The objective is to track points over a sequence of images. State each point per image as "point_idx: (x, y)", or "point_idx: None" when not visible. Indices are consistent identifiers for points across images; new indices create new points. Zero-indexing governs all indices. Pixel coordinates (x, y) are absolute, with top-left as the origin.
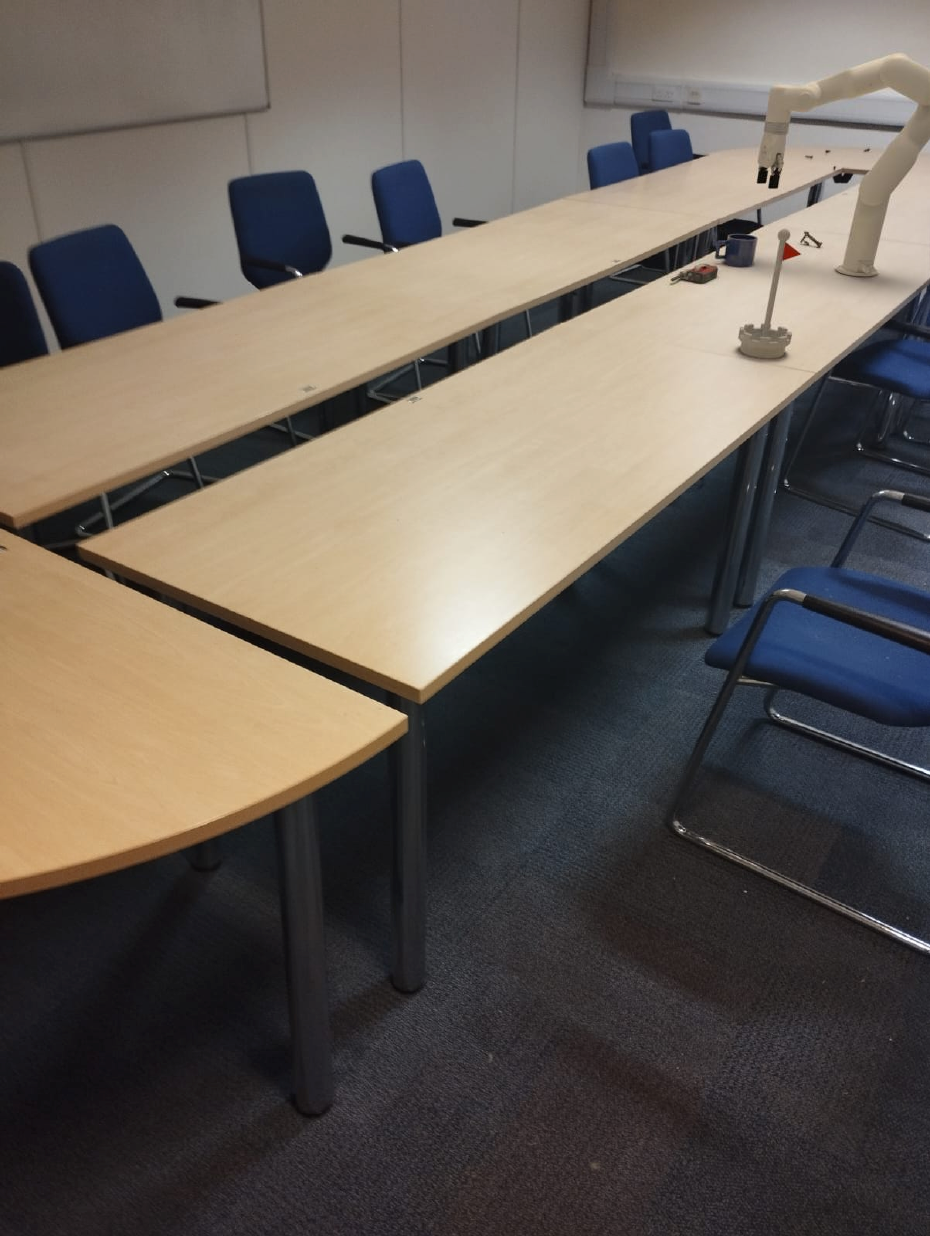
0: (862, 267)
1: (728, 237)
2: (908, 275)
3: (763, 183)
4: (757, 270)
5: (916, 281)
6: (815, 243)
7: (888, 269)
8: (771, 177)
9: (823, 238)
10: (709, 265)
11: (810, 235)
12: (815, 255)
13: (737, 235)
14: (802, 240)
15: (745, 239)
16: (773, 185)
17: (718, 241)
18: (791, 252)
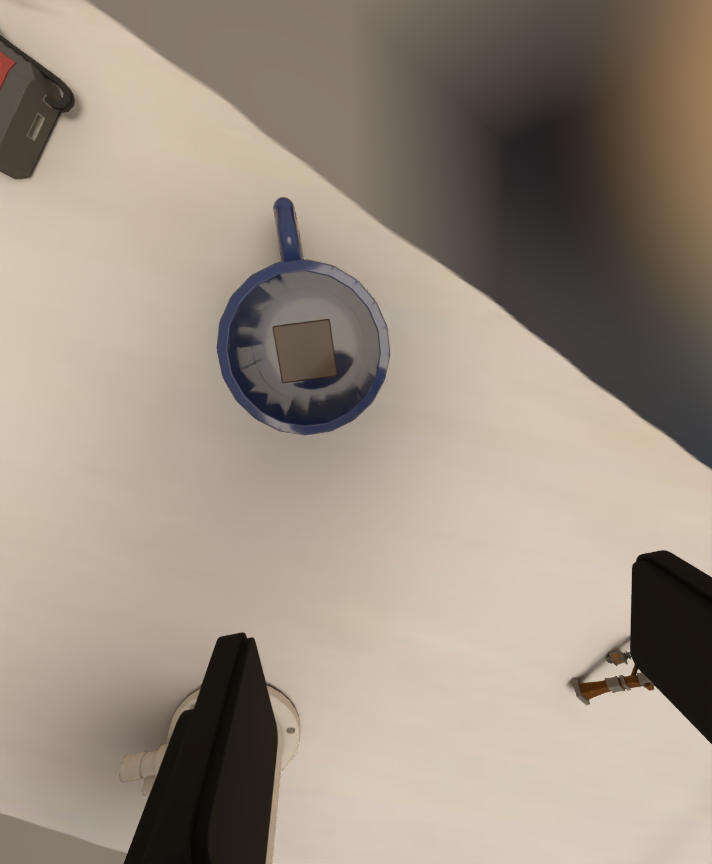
0: (143, 762)
1: (290, 261)
2: None
3: (633, 627)
4: (197, 404)
5: None
6: (592, 682)
7: (293, 813)
8: (170, 824)
9: None
10: (6, 114)
11: (633, 686)
12: (464, 653)
13: (377, 338)
14: None
15: (319, 372)
16: (184, 723)
17: (277, 201)
18: None
